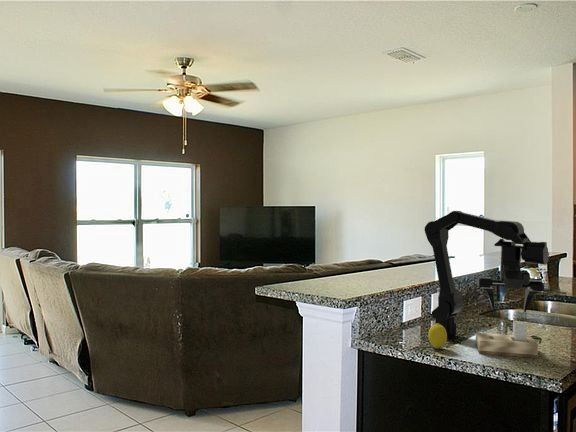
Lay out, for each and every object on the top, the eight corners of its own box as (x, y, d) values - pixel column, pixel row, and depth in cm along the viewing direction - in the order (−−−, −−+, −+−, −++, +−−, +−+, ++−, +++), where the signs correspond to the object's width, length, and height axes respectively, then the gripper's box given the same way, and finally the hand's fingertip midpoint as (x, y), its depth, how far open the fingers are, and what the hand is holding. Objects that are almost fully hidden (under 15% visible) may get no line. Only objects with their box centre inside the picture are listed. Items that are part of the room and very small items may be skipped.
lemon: (434, 352, 152) (435, 325, 152) (424, 347, 157) (425, 321, 157) (450, 350, 153) (450, 324, 153) (440, 345, 159) (440, 320, 158)
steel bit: (514, 350, 151) (515, 323, 151) (512, 347, 154) (512, 321, 154) (526, 350, 150) (526, 324, 150) (523, 348, 153) (524, 322, 153)
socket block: (479, 353, 150) (479, 340, 150) (475, 345, 160) (475, 332, 160) (537, 358, 146) (537, 344, 146) (530, 349, 156) (530, 336, 156)
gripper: (481, 262, 152) (479, 313, 152) (549, 266, 147) (547, 319, 147) (478, 258, 162) (476, 306, 163) (541, 262, 157) (539, 311, 158)
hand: (508, 310), depth 157 cm, fingers open, 9 cm apart
